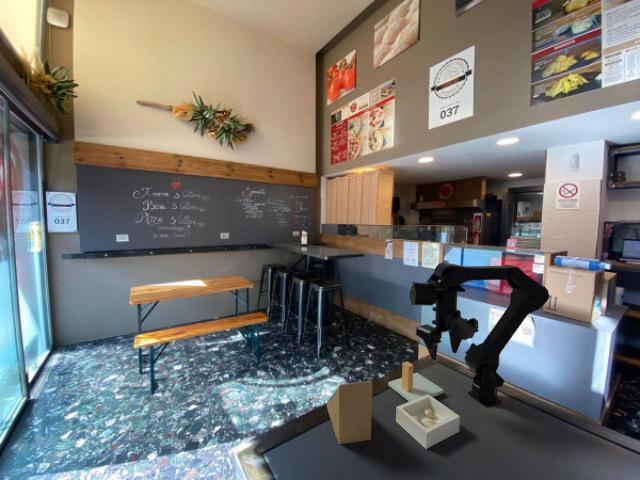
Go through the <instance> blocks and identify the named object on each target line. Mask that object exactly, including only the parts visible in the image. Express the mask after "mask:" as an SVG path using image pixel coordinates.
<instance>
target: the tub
mask: <svg viewBox="0 0 640 480" xmlns="http://www.w3.org/2000/svg"><path fill="white" fill-rule="evenodd" d="M395 410H396V411H395V416H396V417H395V422H396V423H397V424H398V425H399V426H400V427H402V428H403V429H404V430H405V431H406V432H407V433H408V434H409V435H410V436H411V437H412V438H414V440H415V441H417V442H418V443H419V444H420V445H421V446H422V447H423V448H425V450H427V449H430V448H431V447H433V446H435V445H437V444H439V443H440V442H442V441H444V440H445V439H447V438H449V437H451V436H453V435H455V434H457V433H460V423H461V419H460V418H461V415H459V414H457V413H456V412H454V411H453V410H451V409H449V407H447V406H445V405H444V404H443V403H441V402H440V401H439V400H437V399H436V398H435V397H431V396H430V395H428V394H427V395H425V396H422V397H420V398H417V399H415V400H412V401H410V402H409V401H407V402H405V403H403V404H400V405H398V406H396V409H395Z"/></svg>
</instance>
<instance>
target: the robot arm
mask: <svg viewBox="0 0 640 480" xmlns="http://www.w3.org/2000/svg"><path fill="white" fill-rule="evenodd" d="M502 280H503V281H504V280H505V282H506V284H507V285H508V286H509V287H510V288H511V289H512V291H511V292H510V294H509V295H510V296H509V297H510V298H509V299H510V301H509V304H508V307H507V308H506V309H505V311H504V312H503V313H502V314H501V316H500V318H499V320H498V321H497V322H496V323H495V325H493V327H492V329H491V331H490V332H489V333H488V335H487V336H486V338H485V339H484V340H483V342H481V343H479V344H476V343H474V342H471V344H470V346H469V348H468V349H467V350H466V351H464V353H465V355H464V362H465V364H466V366H467V367H468V368H469V370H470V372H472V373H473V375H474V376H473V377H472V382H471V390H469V391H468V392H467V394H468V395H469V396H471V397H472V398H473V399H475V400H476V401H477V402H478V403H480V404H481V405H483V406H484V407H489V406H493V405H497V404H502V403H503V401H502V399H501V398H499V397H498V388H503V385H504V383H505V379H504V378H503V377H502V376H501V375H500V374H499V373H498V372H497V371H498V369H499V366H500V355H501V353H502V352H503V350H504V349H505V347H507V345H508V343H509V342H510V340H511V339H512V337H513V336H514V335H515V333H517V331H518V329H520V326H521V325H522V324H523V322H524V321H525V319H526V318H527V316H529V314H532V313H534V312H536V311H539V310H540V309H542V307H543V306H544V305H545V304H547V302H548V301H549V299H550V298H551V297H550V293H549V290H548V288H547V287H546V286H544V285H541V284H540V283H539V282H538V281H536V280H535V279H533V278H532V277H531V276H529V275H528V274H527V273H525V272H524V271H523V269H521V268H520V267H518V266H514V265H512V264H511V265H508V264H504V265H469V266H467V265H462V264H457V263H450V262H440V263H437V265H436V266H435V268H434V272H433V273H432V274H431V275H430V276H429V278H428V279H427V280H426V282H417V281H413V282H411V287H410V291H408V292H409V293H408V295H409V296H408V297H409V301H410V304H411V306H418V307H419V306H421V307H423V306H426V307H427V306H430V307H431V306H432V312H435V316H434V317H435V318H434V319H433V320H431V324H432V325H433V326H432V325H430V324H427V323H426V324H422V325H419V326H417V327H416V328H415V336H417V337H419V338H420V339H421V340H422V341H423V343H424V345H425V348H426V349H427V351H428V353H429V356H430V358H431V360H433V361H435V360H436V359H437V355H438V345H439V344H441V343H442V340H441V339H442V338H443V336H442V335H443V334H444V333H447V332H448V337H449V343H450V347H451V352H452V354H454V355H455V354H457V352H458V351H459V348H460V346H461V343H462V341H467V340H469V339H473V338H474V335H475V334H476V333H478V332H479V331H480V330H479V320H478V319H477V318H475V317H472V318H469V319H468V318H463V317H462V312H461V310H460V309H458V293H465V292H466V289H465V288H464V287H462V285H461V284H465V283H467V282H470V281H502ZM434 305H435V306H434ZM434 325H435V326H434Z"/></svg>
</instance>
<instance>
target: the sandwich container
mask: <svg viewBox="0 0 640 480" xmlns="http://www.w3.org/2000/svg"><path fill="white" fill-rule="evenodd" d="M325 404H327V405H326V408H327V411H328V415H329V418H330V421H331V425H332V428H333V431H334V433H335V437H336V440H337V441H338V444H339V445H343V444H349V443H357V442H358V443H359V442H363V441H370V440H371V439H372V414H373V413H372V412H373V411H372V409H373V381H372V380H371V381H370V380H368V381H358V382H356V381H355V382H349V383H343V384H340V385H338V386H337V389H336V390H335V392H333V394H332V396H331V397H330V398H329V399H328V400H327V402H326V403H325Z"/></svg>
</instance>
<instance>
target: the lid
mask: <svg viewBox="0 0 640 480" xmlns="http://www.w3.org/2000/svg"><path fill="white" fill-rule="evenodd" d="M401 365H402V367H401V368H402V369H401V370H402V371H401V377H400V378H397V379H394V380H391V381H388V383H387V384H388V387H390V388H391V389H392V390H394V391H395V392H396V393H398V394H399V395H400V396H401V397H402V398H404V399H405V400H407V402H410V401H412V400H415V399H417V398H420V397H422V396H425V395H427V394H428V395H430V396H431V397H433V398H435V397H437V396H439V395H442V394H443V393H444V389H443V388H442V387H440V386H438V385H436V384H435V383H434V382H432V381H431V380H429V379H427V378H426V377H425V376H424V375H421V374H420V373H418V372H415V373H414V364H412V363H411V362H409V361H403V362H402V364H401Z"/></svg>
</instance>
